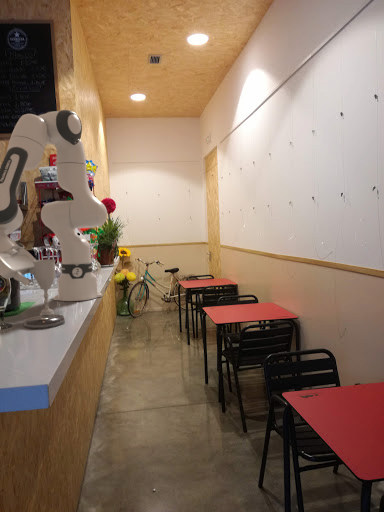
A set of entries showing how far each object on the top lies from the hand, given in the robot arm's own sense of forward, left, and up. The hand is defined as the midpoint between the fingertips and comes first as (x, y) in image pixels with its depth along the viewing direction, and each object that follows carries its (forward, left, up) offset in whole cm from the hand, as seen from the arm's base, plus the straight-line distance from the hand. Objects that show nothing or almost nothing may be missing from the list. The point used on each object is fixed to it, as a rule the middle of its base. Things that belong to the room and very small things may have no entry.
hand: (35, 281), depth 120 cm
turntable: (+11, +3, -11) cm, 16 cm away
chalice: (+1, +3, -11) cm, 12 cm away
